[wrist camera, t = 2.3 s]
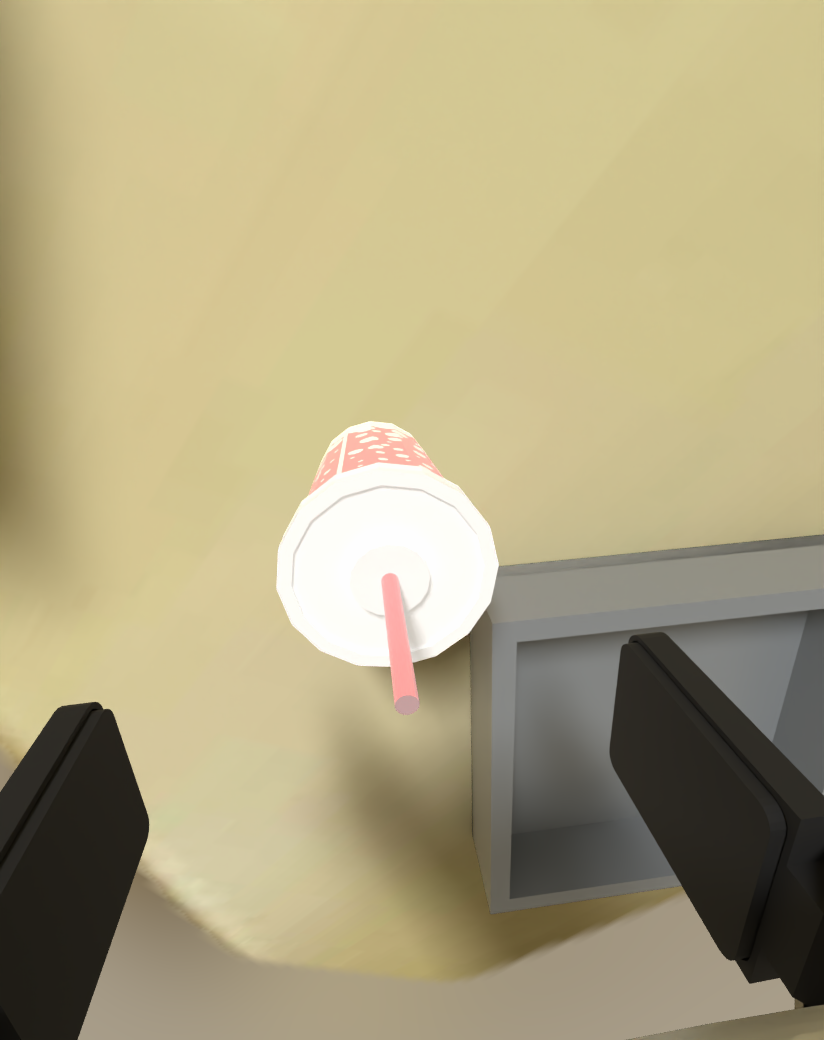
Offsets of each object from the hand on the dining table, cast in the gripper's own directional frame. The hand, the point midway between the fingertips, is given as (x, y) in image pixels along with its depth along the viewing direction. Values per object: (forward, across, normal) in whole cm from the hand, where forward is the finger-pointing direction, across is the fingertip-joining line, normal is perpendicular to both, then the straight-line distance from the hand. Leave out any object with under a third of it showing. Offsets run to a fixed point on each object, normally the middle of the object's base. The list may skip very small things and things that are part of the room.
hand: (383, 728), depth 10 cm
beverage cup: (+14, -1, 0) cm, 15 cm away
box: (+14, -14, +14) cm, 24 cm away
